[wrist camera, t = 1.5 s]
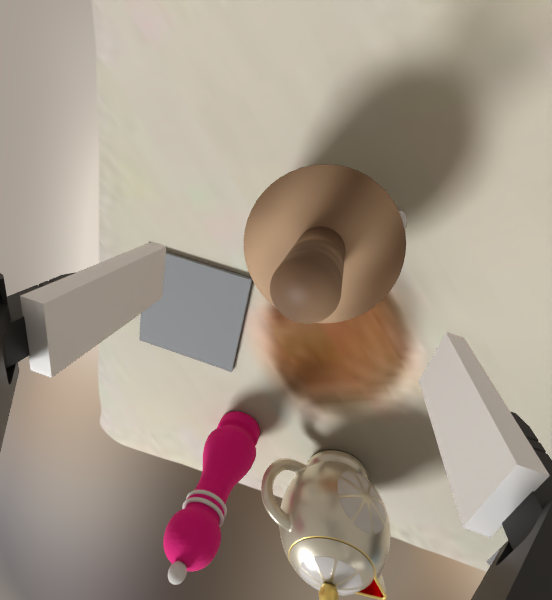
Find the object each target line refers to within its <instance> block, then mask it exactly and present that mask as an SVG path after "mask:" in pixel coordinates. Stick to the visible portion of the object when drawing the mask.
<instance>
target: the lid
mask: <svg viewBox="0 0 552 600" xmlns="http://www.w3.org/2000/svg"><path fill="white" fill-rule="evenodd" d="M405 251H406V236H405V229H404V225H403V221H402V218H401V215H400V213H399V210H398V208H397V207H396V205H395V203H394V201H393V200H392V198H391V197H390V196H389V195H388V193H387V192H386V191H385V190H384V189H383V188H382V187H381V186H380V185H379V184H378V183H377V182H375V181H374V180H373V179H371V178H370V177H368V176H367V175H365V174H363V173H361V172H359V171H357V170H354V169H351V168H348V167H344V166H339V165H328V164H322V165H311V166H307V167H303V168H299V169H297V170H294V171H292V172H289V173H288V174H286V175H284V176H282V177H280V178H279V179H278V180H276V181H275V182H274V183H272V184H271V185H270V186H269V187H268V188H267V189H266V190H265V191H264V192H263V193H262V195H261V196H260V197H259V198H258V200H257V201H256V203H255V205H254V206H253V208H252V210H251V213H250V215H249V217H248V220H247V224H246V228H245V234H244V254H245V260H246V264H247V268H248V271H249V273H250V276H251V278H252V280H253V281H254V283H255V285H256V287H257V288H258V289H259V291H260V292H261V294H262V295H263V296H264V297H265V298H266V299H267V300H268V301H269V302H270V303H271V304H273V305H274V306H275V307H276V308H277V309H278V311H279V312H280V313H281V314H283V315H284V316H285V317H287V318H288V319H290V320H292V321H295V322H298V323H305V324H310V323H335V322H341V321H345V320H349V319H352V318H355V317H357V316H359V315H361V314H363V313H365V312H367V311H368V310H370V309H372V308H373V307H374V306H376V305H377V304H378V303H379V302H380V301H382V299H383V298H384V297H385V296H386V295H387V294H388V293H389V291H390V290H391V289H392V287H393V286H394V284H395V282H396V281H397V279H398V277H399V275H400V272H401V269H402V266H403V263H404V258H405Z"/></svg>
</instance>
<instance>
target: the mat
mask: <svg viewBox="0 0 552 600" xmlns="http://www.w3.org/2000/svg"><path fill="white" fill-rule="evenodd" d="M251 285H252V278H250V277H246V276H243V275H240V274H237V273H234V272H230V271H227V270H224V269H221V268H217V267H214V266H211V265H208V264H205V263H201V262H198V261H195V260H192V259H189V258H185V257H182V256H179V255H176V254H172V253H169V252H166V255H165V268H164V280H163V293H162V298H161V299H160V300H158V301H157V302H156V303H154V304H153V305H151V306H150V307H149V308H147V309H146V310H145V311H143V312H142V313H141V322H140V340H141V341H144V342H147V343H150V344H153V345H155V346H158V347H161V348H164V349H167V350H170V351H173V352H176V353H179V354H181V355H184V356H187V357H190V358H193V359H196V360H199V361H202V362H204V363H207V364H210V365H213V366H216V367H219V368H222V369H225V370H227V371H230V372H232V370H233V368H234V363H235V358H236V354H237V349H238V345H239V340H240V335H241V331H242V326H243V322H244V317H245V312H246V308H247V303H248V299H249V294H250V289H251Z"/></svg>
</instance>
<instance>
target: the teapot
mask: <svg viewBox="0 0 552 600" xmlns="http://www.w3.org/2000/svg"><path fill="white" fill-rule="evenodd" d="M283 470H290V471H293V472H295V473H296V477H295V478H294V479H293V481H292V482H291V483H290V485H289V486H288V488H287V490H286V492H285V495H284V497H283V500H282V504H281V508H280V507H279V505H278V504H277V503H276V500H275V498H274V495H273V483H274V480H275V478H276V476H277V475H278V474H279V473H280V472H281V471H283ZM261 492H262V499H263V503H264V506H265V508H266V510H267V512H268V513H269V515H270V516H271V517H272V519H273V520H274V521H275V522H276V523H277V524H279V525H280V535H281V540H282V544H283V547H284V550H285V553H286V555H287V557H288V559H289V561H290V563H291V565H292V566H293V568H294V569H295V571H296V572H297V573H298V574H299V576H300V577H301V578H302V579H303V580H304V581H305V582H307V583H308V584H309V585H311V586H312V587H313V588H315V589H317V590H319V598H320V600H339V596H343V595H351V594H354V593H355V594H359V595H363V596H368V597H372V598H375V599H379V600H385V599H386V598H387V593H386V588H385V584H384V581H383V578H382V575H381V571H382V569H383V567H384V565H385V562H386V559H387V556H388V552H389V546H390V524H389V519H388V514H387V511H386V508H385V505H384V503H383V501H382V499H381V497H380V495H379V493H378V492H377V490H376V489H375V487H374V486H373V485H372V483H371V482H370V481H369V480H368V477H367V473H366V470H365V468H364V467H363V465H362V464H361V463H360V462H359V461H358V460H357V459H356V458H355V457H353V456H351V455H350V454H347V453H345V452H341V451H336V450H326V451H322V452H319V453H317V454H315V455H314V456H312V457H311V458H310V460H309V461H308V463H307V466H306V465H304V464H302V463H300V462H298V461H296V460H292V459H279V460H276V461H275V462H273V463H272V464H271V465H270V466H269V467H268V468H267V470H266V472H265V474H264V476H263V480H262V486H261Z"/></svg>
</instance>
